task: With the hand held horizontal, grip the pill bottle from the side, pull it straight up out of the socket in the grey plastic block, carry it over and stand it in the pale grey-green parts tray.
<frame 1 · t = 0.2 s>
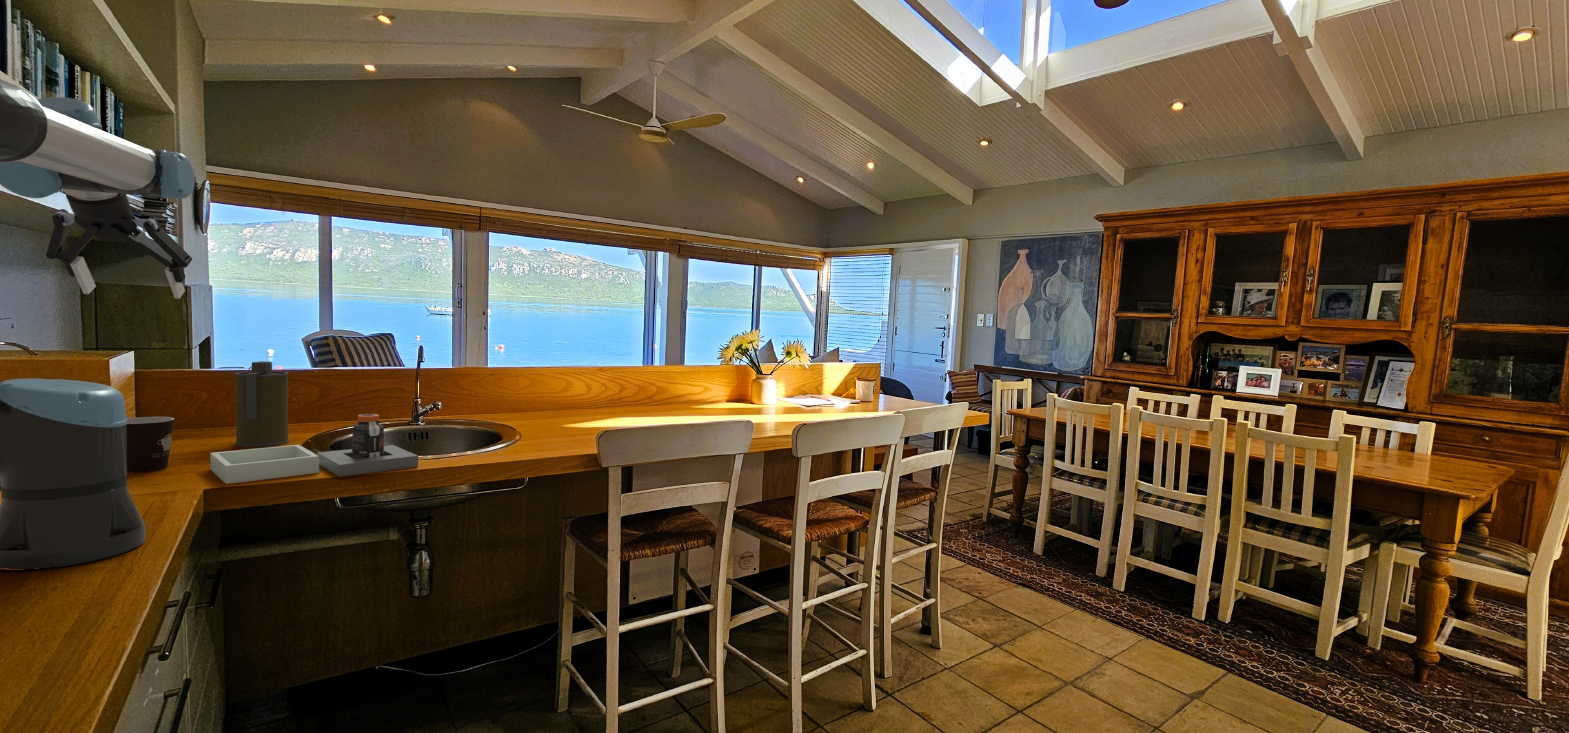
hand: (135, 292, 128), 36 cm above the worktop, tool tilted 35°, fingers open, 13 cm apart
coffee mug: (154, 468, 135), on the worktop
pill bottle: (368, 466, 145), resting in socket block
canister: (262, 443, 162), on the worktop
socket block: (368, 465, 145), on the worktop
parts tray: (265, 471, 136), on the worktop
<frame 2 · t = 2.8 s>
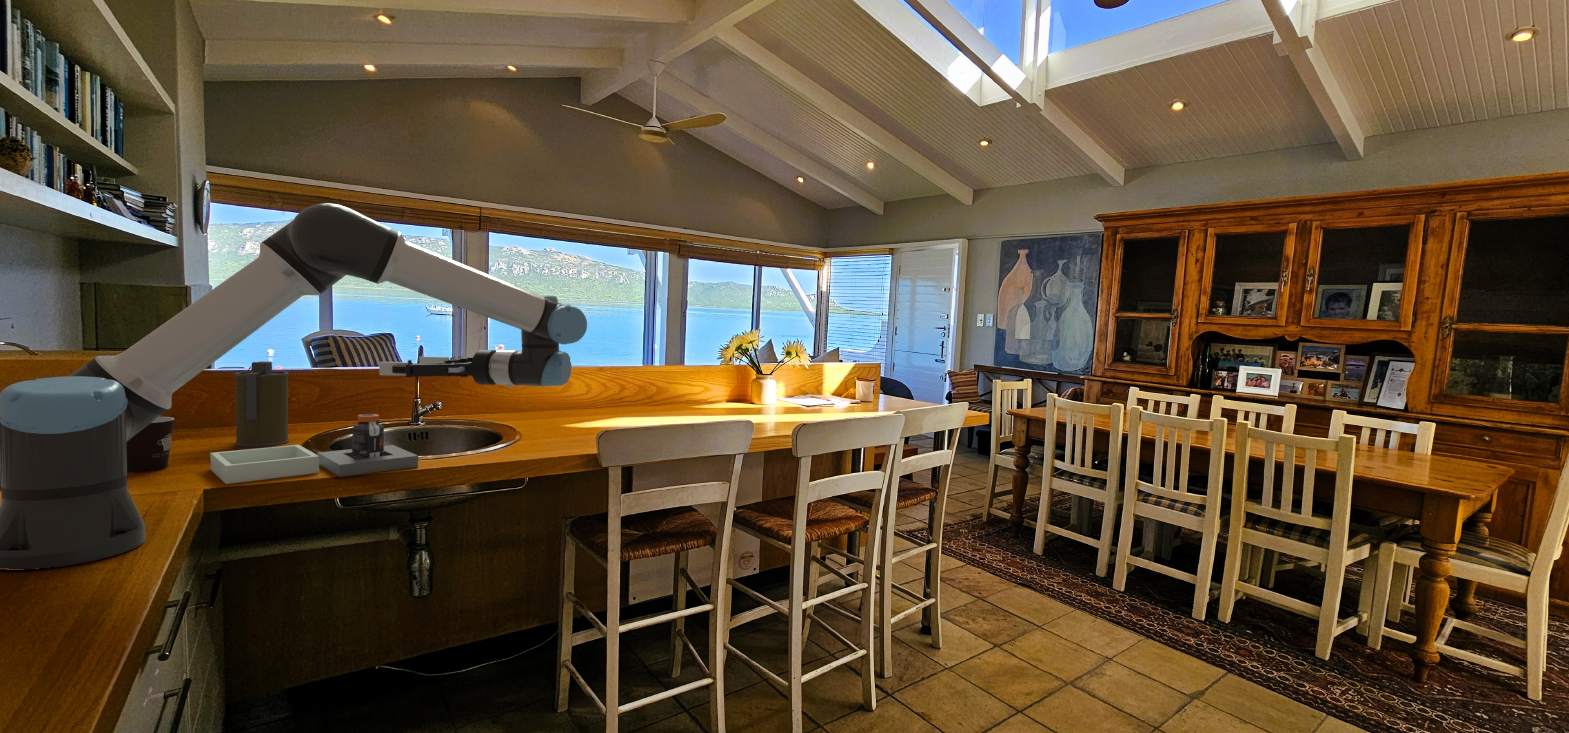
hand: (401, 365, 143), 23 cm above the worktop, tool horizontal, fingers open, 13 cm apart
nothing on the worktop moved.
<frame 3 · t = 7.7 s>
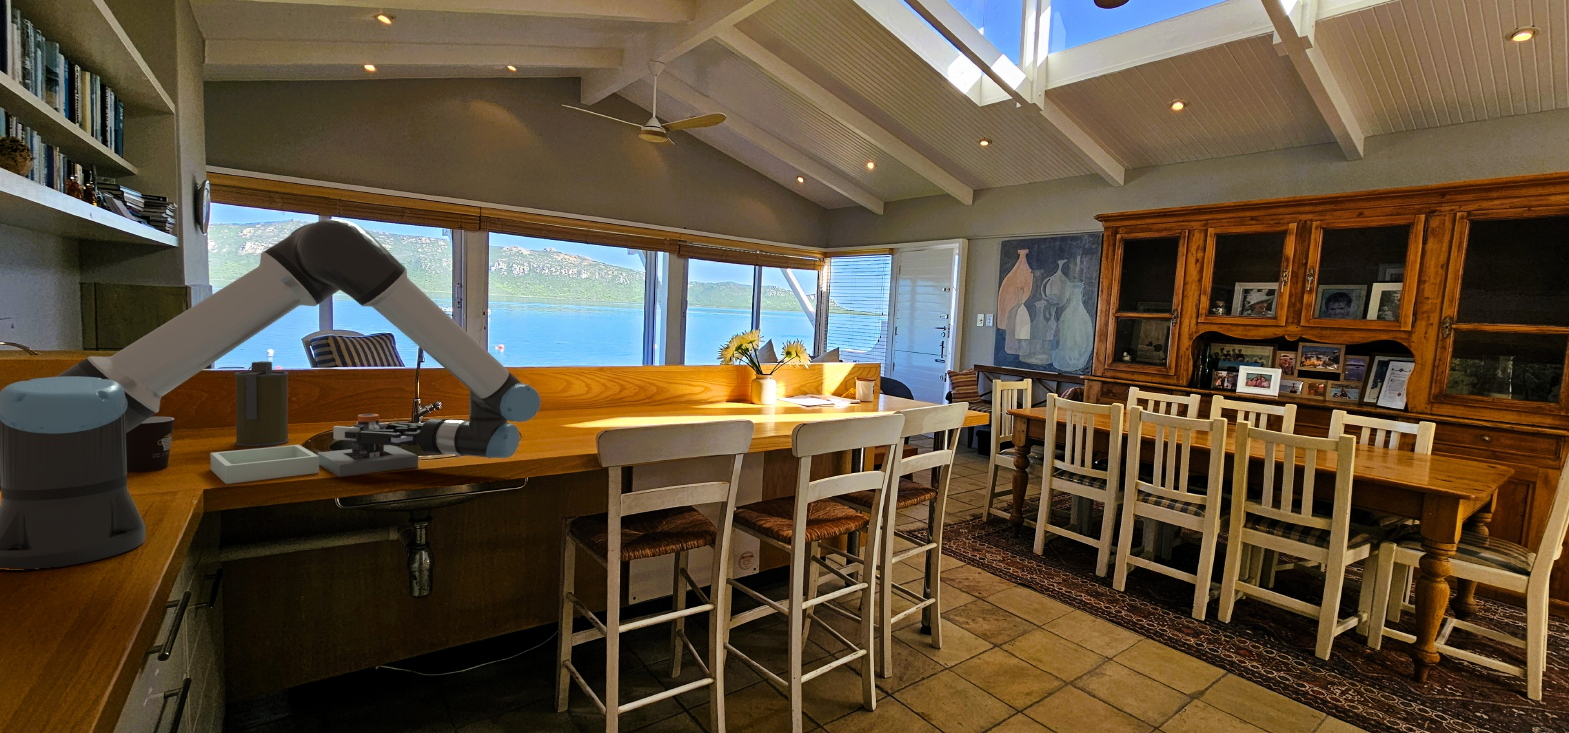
hand: (346, 430, 145), 8 cm above the worktop, tool horizontal, fingers closed on pill bottle, 6 cm apart
pill bottle: (368, 466, 145), resting in socket block, touching gripper
everything else where it was.
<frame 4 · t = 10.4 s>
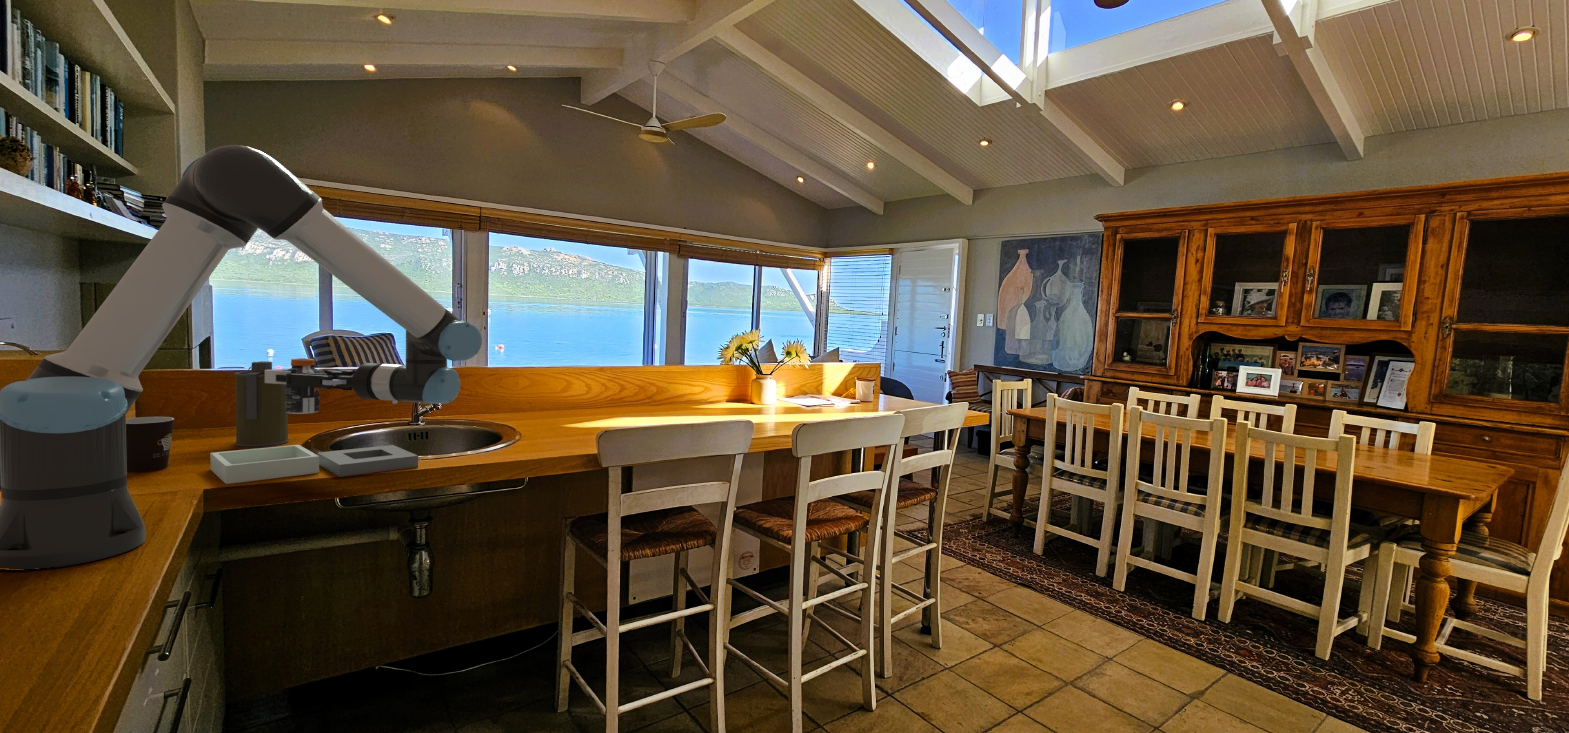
hand: (280, 375, 139), 20 cm above the worktop, tool horizontal, fingers closed on pill bottle, 6 cm apart
pill bottle: (302, 413, 139), point 12 cm above the worktop, touching gripper
everything else where it was.
when the fingers open (10 cm above the worktop, at t = 13.1 s): pill bottle drops 1 cm, resting on parts tray.
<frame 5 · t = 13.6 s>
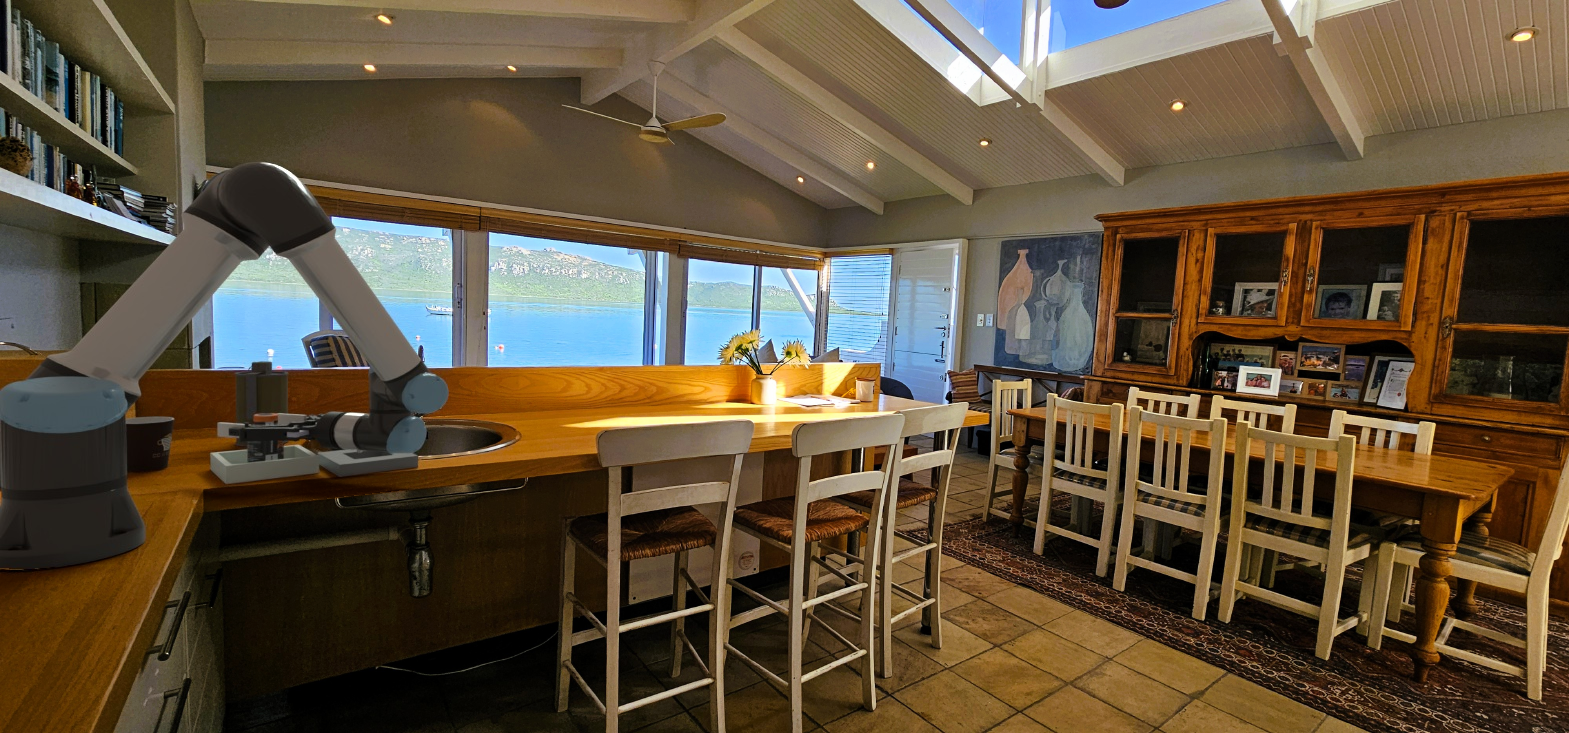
hand: (249, 424, 136), 10 cm above the worktop, tool horizontal, fingers open, 13 cm apart
pill bottle: (265, 469, 136), resting on parts tray
everything else where it was.
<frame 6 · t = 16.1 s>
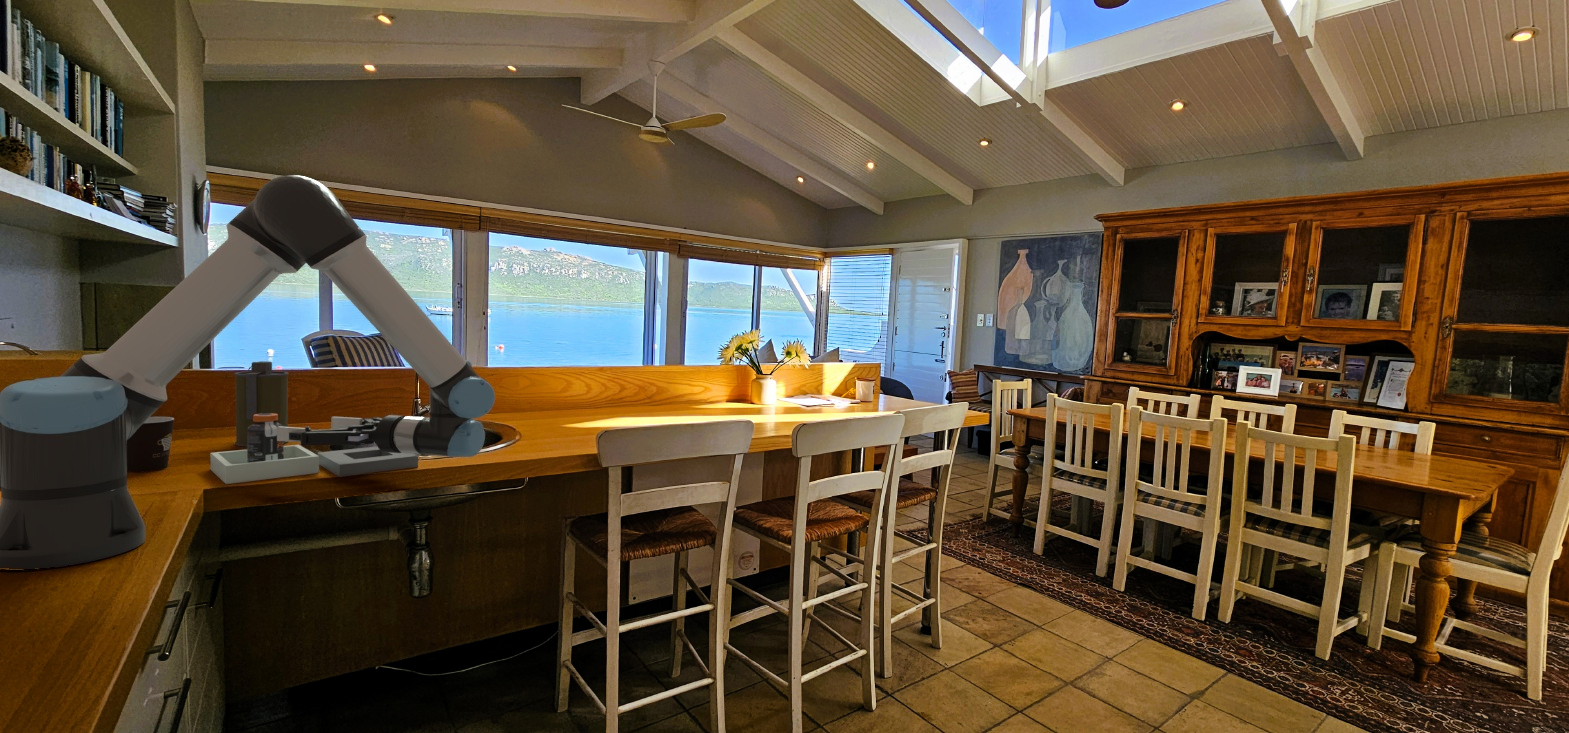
hand: (306, 428, 135), 10 cm above the worktop, tool horizontal, fingers open, 13 cm apart
nothing on the worktop moved.
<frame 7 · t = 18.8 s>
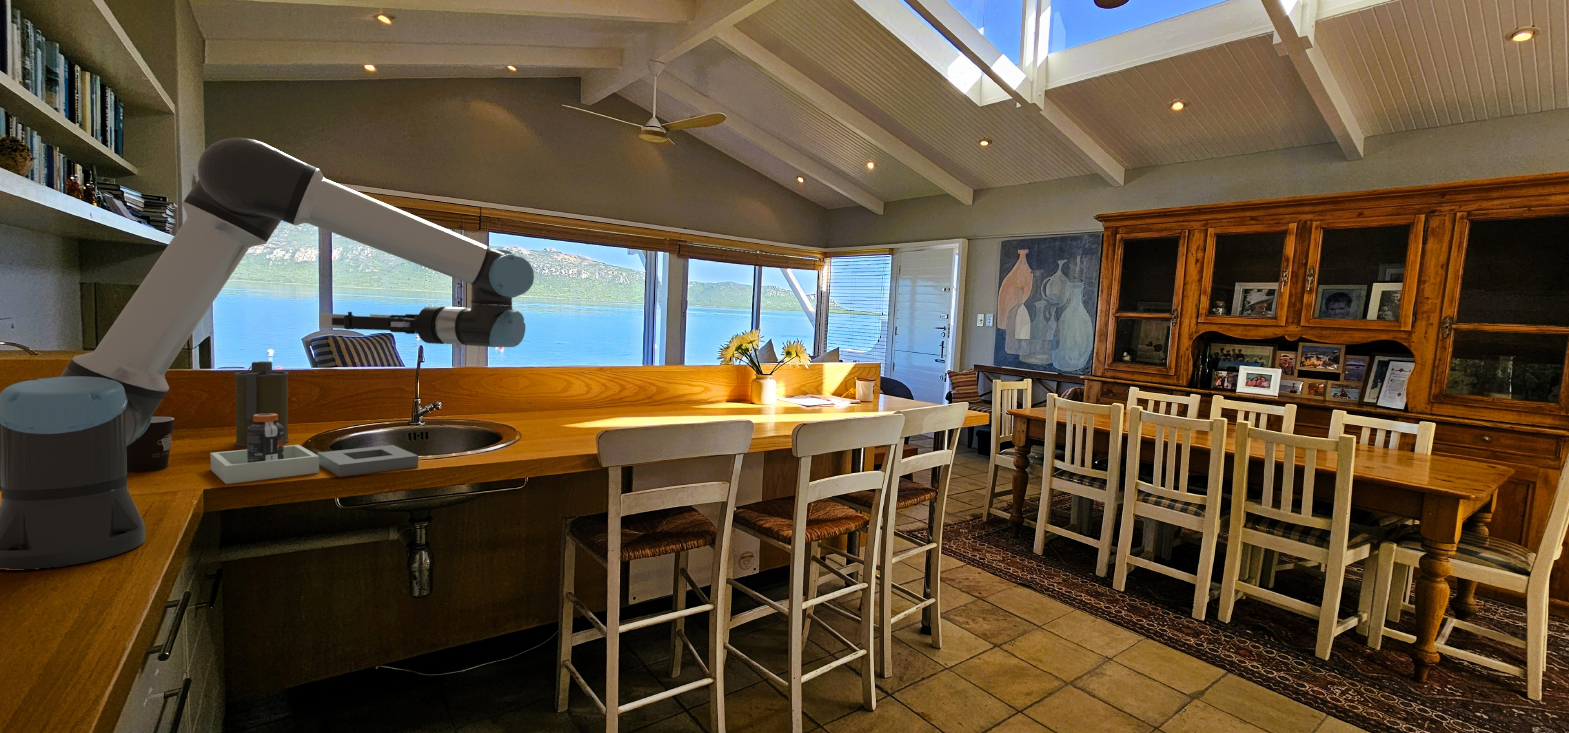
hand: (347, 320, 135), 32 cm above the worktop, tool horizontal, fingers open, 13 cm apart
nothing on the worktop moved.
at the end: pill bottle inside the target area on the parts tray (0.1 cm from its centre), point 0.4 cm above the parts tray's base; pill bottle tilted 0°; the gripper is holding nothing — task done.
